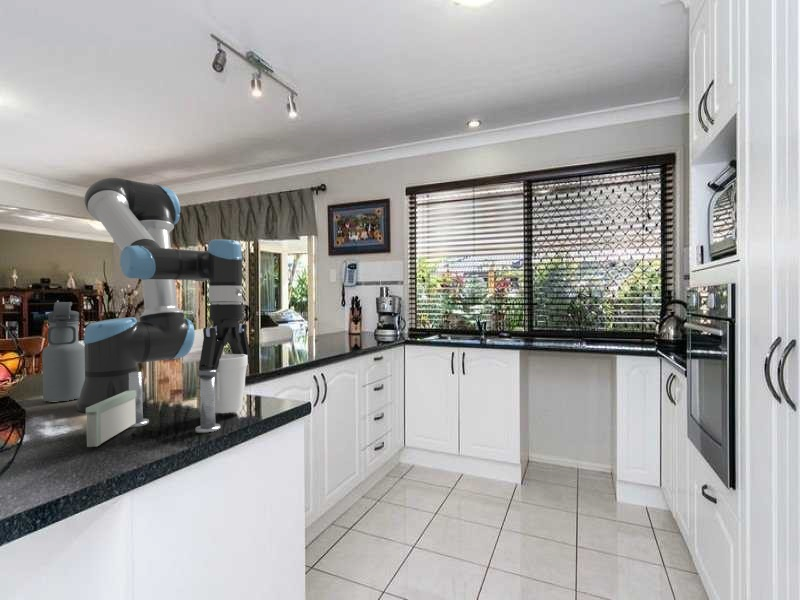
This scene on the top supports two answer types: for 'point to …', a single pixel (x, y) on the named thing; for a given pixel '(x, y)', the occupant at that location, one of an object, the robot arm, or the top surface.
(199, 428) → the post
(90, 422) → the gate
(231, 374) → the foam cup
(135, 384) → the hinge post
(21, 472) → the top surface
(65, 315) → the water bottle
